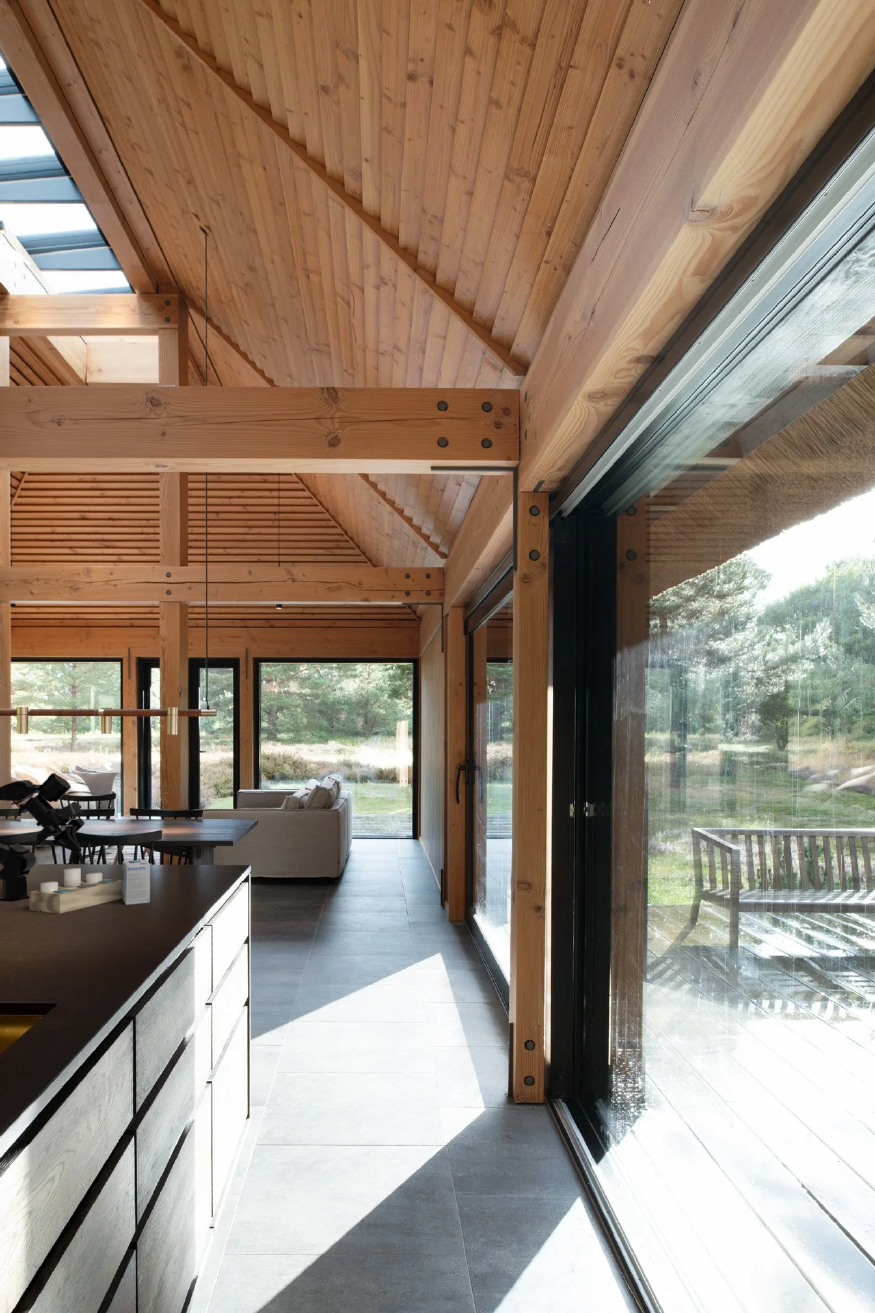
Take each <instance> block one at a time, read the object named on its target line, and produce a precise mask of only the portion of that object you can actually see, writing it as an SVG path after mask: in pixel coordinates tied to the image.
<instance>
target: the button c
mask: <svg viewBox="0 0 875 1313" xmlns="http://www.w3.org/2000/svg"><path fill="white" fill-rule="evenodd" d="M102 879H103V872H89V873H86V875H85V880H86V882H89V883H96V882H99V881H102Z"/></svg>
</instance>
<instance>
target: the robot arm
mask: <svg viewBox="0 0 875 1313" xmlns="http://www.w3.org/2000/svg"><path fill="white" fill-rule="evenodd" d="M70 789H72V786H71V784H70V782H68V781H67V779H64V778H62V776H60V775H58V774H57V773H55V772H52V773H50V775H48V777H47V778H46V779H45V780H44V781H43V782H42V783H41V784H35V783H33V781H31V780H29V779H23V780H22V779H21V780H16V781H13V782H9V783H7V784H3V785H2V786H0V801H4V802H5V801H6V802H14V801H15V802H20V801H24V800H26V802H24V803H20V804H19V808H18V814H26V813H29V814H30V815H31V816H32V817H33V819H35V821H36V823H35V825H36V826H37V827H40V826H41V827H42V829H41V830H40V831H39V832H38V833H37V835H35V841H36V843H37V844H38V845H39V846H42V845H46V844H47V839H48V838H50V837H53V839H54V840H52V842H51V845H55V846H58V847H61V848H64V849H67V850H70V851H72V852H75V853H77V854H79V853H81V852H82V850H83V849H82V848H81V846H80V845H81V844H80V843H79V841H78V838H77V836H76V835H77V833H78V832H79V830H80V829H81V828H82V827H83V826H84V825H85V824H86V822H85V821H84V820H83V818H73V817H74V816H77V815H80V814H82V811H81V810H82V805H80V804H79V802H76V801H73V802H71V803H68V805H66V806H64V807H62V808H59V807H57V808H54V807H53V806H52V804H51V803H53V802H54V803H57V802H58V801H60V799H61V798H62V797H63V796H64V795H65V794H66V793H67V792H68V791H69V790H70ZM35 794H36V795H35ZM34 795H35V796H34ZM33 796H34V797H33ZM71 818H73V819H71ZM36 859H37V858H36V855H35V853H34V852H32V851H31V848H27V847H25V846H23V845H22V844H20V843H16V844H12V845H10V846H8V845H5V844H4V843H1V842H0V864H1V866H3V867H2V869H0V881H1V880H2V889H1V890H2V896H1V897H0V899H5V900H4V901H8V900H15V901H17V900H16V899H19V900H21V899H20V898H24V899H28V898H27V897H29V895H30V894H29V895H28V881H27V876H28V875H29V874H30V871H31V869H32V868H33V867H35V865H36V863H37V862H36V861H37V860H36Z"/></svg>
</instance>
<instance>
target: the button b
mask: <svg viewBox="0 0 875 1313" xmlns="http://www.w3.org/2000/svg"><path fill="white" fill-rule="evenodd" d="M81 876H82V868H81V867H69V868H64V869H63V885H64V887H70V888H73V887H76V886H80V885H81V881H82V878H81Z"/></svg>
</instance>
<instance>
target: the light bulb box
mask: <svg viewBox="0 0 875 1313" xmlns="http://www.w3.org/2000/svg"><path fill="white" fill-rule="evenodd" d="M121 878H122V879H121V880H122V901H123V902H124V904H125V905H126V906H127V905H138V904H149V902H151V863H149V861H148V860H147V859H135V860H123V861H122V877H121Z"/></svg>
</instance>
